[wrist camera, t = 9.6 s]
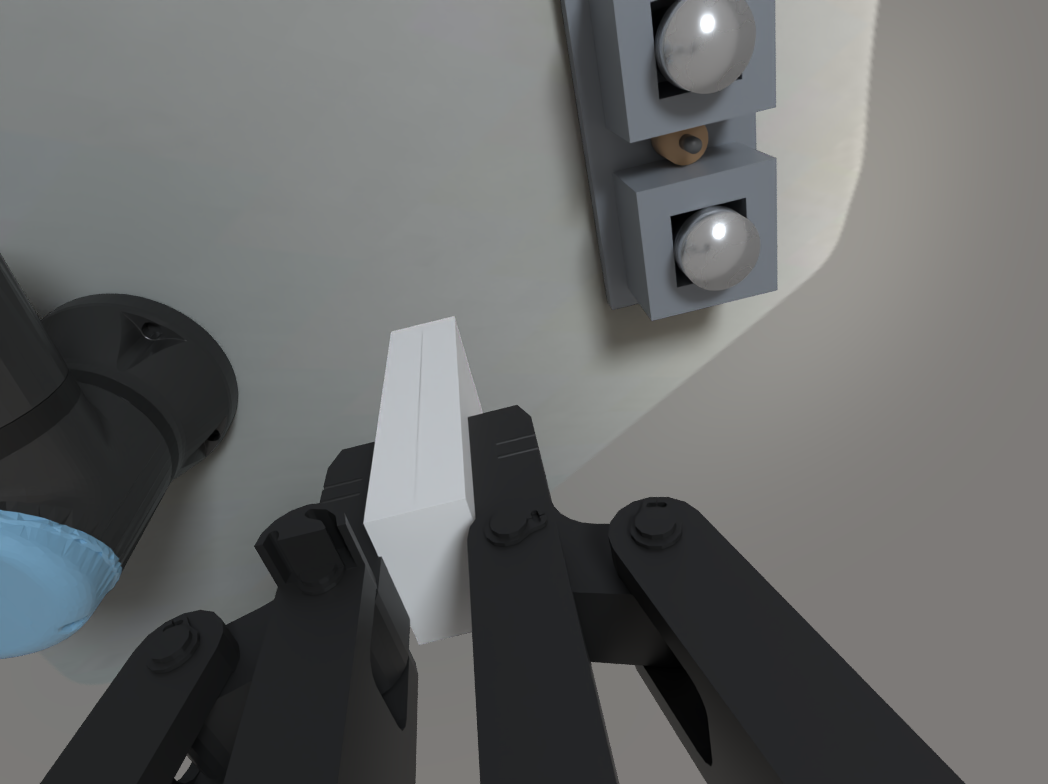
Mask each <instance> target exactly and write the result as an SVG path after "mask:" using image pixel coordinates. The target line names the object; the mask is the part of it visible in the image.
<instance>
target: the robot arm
mask: <svg viewBox="0 0 1048 784" xmlns="http://www.w3.org/2000/svg"><path fill="white" fill-rule="evenodd" d="M237 402H238V389H237V382H236V378H235V374H234V371H233V369H232V366H231V364H230V362H229V360H228V358H227V356H226V355H225V353H224V352H223V350H222V349H221V347H220V346H219V345H218V343H217V342H216V341H215V340H214V339H213V338H212V336H211V335H210V334H209V333H208V332H207V331H205V330H204V329H203V328H202V327H201V326H200V325H198V324H197V323H196V322H194V321H193V320H192V319H190V318H189V317H187V316H186V315H184V314H182V313H181V312H179V311H177V310H175V309H173V308H171V307H169V306H166V305H164V304H162V303H159V302H156V301H153V300H150V299H146V298H143V297H138V296H133V295H126V294H97V295H90V296H85V297H81V298H78V299H75V300H72V301H70V302H67V303H65V304H63V305H62V306H60V307H58V308H57V309H55V310H54V311H52V312H51V313H50V314H48V315H47V316H46V317H45V318H43V319H42V320H40V319H39V317H38V315H37V314H36V312H35V310H34V309H33V307H32V305H31V304H30V302H29V300H28V299H27V297H26V295H25V294H24V292H23V290H22V289H21V287H20V285H19V284H18V282H17V280H16V279H15V277H14V275H13V273H12V272H11V270H10V268H9V267H8V265H7V263H6V262H5V260H4V258H3V257H2V255H1V253H0V659H4V658H12V657H18V656H23V655H27V654H31V653H35V652H38V651H41V650H44V649H46V648H49V647H51V646H54V645H56V644H58V643H59V642H61V641H63V640H65V639H67V638H68V637H70V636H71V635H73V634H74V633H75V632H77V631H78V630H79V629H80V628H81V627H82V626H83V625H84V624H85V623H86V622H87V621H88V619H89V618H90V617H91V615H92V614H93V613H94V611H95V610H96V608H97V607H98V605H99V604H100V602H101V601H102V599H103V598H104V596H105V595H106V593H108V592H109V591H110V590H111V589H112V588H113V587H114V586H115V584H116V582H117V581H118V580H119V578H120V575H121V573H122V571H123V569H124V567H125V565H126V563H127V561H128V560H129V558H130V556H131V554H132V552H133V550H134V549H135V547H136V545H137V543H138V541H139V539H140V537H141V536H142V534H143V532H144V530H145V528H146V526H147V525H148V523H149V521H150V519H151V517H152V515H153V514H154V512H155V510H156V508H157V506H158V504H159V503H160V501H161V499H162V497H163V495H164V493H165V491H166V490H167V488H168V486H169V484H170V483H171V481H172V480H174V479H175V478H177V477H178V476H180V475H181V474H183V473H184V472H186V471H187V470H188V469H190V468H191V467H193V466H194V465H196V464H197V463H199V462H200V461H202V460H203V459H204V458H206V457H207V456H208V455H209V454H210V453H211V452H212V451H213V450H214V449H215V448H216V447H217V446H218V445H219V443H220V442H221V441H222V439H223V437H224V436H225V434H226V432H227V430H228V428H229V426H230V424H231V422H232V420H233V418H234V415H235V412H236V408H237ZM254 547H255V549H256V550H257V552H258V554H259V555H260V557H261V559H262V561H263V562H264V564H265V566H266V567H267V569H268V571H269V572H270V574H271V576H272V577H273V579H274V581H275V582H276V584H277V586H278V588H277V592H276V595H275V599H274V600H273V601H271V602H269V603H268V604H266V605H264V606H263V607H261V608H259V609H257V610H255V611H253V612H251V613H249V614H247V615H245V616H243V617H241V618H239V619H237V620H235V621H233V622H231V623H229V624H227V625H225V624H224V622H223V621H222V619H221V618H220V617H219V616H217V615H216V614H215V613H214V612H211V611H204V610H198V611H193V612H189V613H184V614H182V615H180V616H178V617H176V618H173V619H171V620H169V621H167V622H165V623H164V624H163V625H161V626H160V627H159V628H157V629H156V630H155V631H153V632H152V633H151V634H149V635H148V636H147V637H146V638H145V639H144V641H143V642H142V643H141V644H140V645H139V646H138V647H137V648H136V649H135V651H134V652H133V653H132V655H131V656H130V658H129V659H128V660H127V662H126V663H125V665H124V666H123V667H122V669H121V670H120V672H119V673H118V674H117V676H116V677H115V679H114V680H113V681H112V683H111V684H110V686H109V687H108V689H107V690H106V692H105V693H104V694H103V696H102V697H101V698H100V700H99V701H98V703H97V704H96V705H95V707H94V708H93V710H92V711H91V713H90V714H89V715H88V717H87V718H86V720H85V721H84V722H83V724H82V725H81V727H80V728H79V729H78V731H77V732H76V734H75V735H74V737H73V738H72V740H71V741H70V742H69V744H68V745H67V746H66V748H65V749H64V751H63V752H62V753H61V755H60V756H59V758H58V759H57V760H56V762H55V764H54V765H53V766H52V767H51V769H50V770H49V772H48V773H47V774H46V776H45V777H44V779H43V780H42V782H41V783H40V784H415V776H416V738H417V737H416V736H417V698H418V672H417V668H416V663H415V661H414V659H413V657H412V654H411V652H410V650H409V633H410V626H411V628H412V631H413V633H414V635H415V637H416V639H417V641H418V644H419V645H421V644H425V643H429V642H434V641H438V640H442V639H446V638H450V637H454V636H458V635H462V634H466V633H471V632H472V639H473V657H474V674H475V693H476V711H477V730H478V748H479V767H480V784H619V781H618V776H617V772H616V768H615V764H614V760H613V755H612V751H611V747H610V743H609V738H608V734H607V730H606V726H605V722H604V718H603V713H602V709H601V705H600V700H599V696H598V692H597V688H596V683H595V679H594V675H593V671H592V667H591V662H601V663H614V664H629V665H635V666H636V669H637V671H638V673H639V674H640V676H641V677H642V679H643V681H644V682H645V684H646V685H647V687H648V689H649V690H650V692H651V694H652V695H653V697H654V698H655V700H656V702H657V703H658V705H659V706H660V708H661V710H662V711H663V713H664V715H665V716H666V718H667V719H668V721H669V723H670V724H671V726H672V727H673V729H674V731H675V732H676V734H677V736H678V737H679V739H680V740H681V742H682V744H683V745H684V747H685V748H686V750H687V752H688V753H689V755H690V756H691V758H692V760H693V761H694V763H695V764H696V766H697V768H698V769H699V771H700V773H701V774H702V776H703V777H704V779H705V781H706V782H707V784H965V783H964V782H963V781H962V780H961V779H960V778H959V777H958V776H957V775H956V774H955V773H954V772H953V771H952V769H950V767H948V765H946V763H945V762H944V761H942V759H941V758H940V757H939V756H938V755H937V754H936V753H935V752H934V751H933V750H932V749H931V748H930V747H929V746H928V745H927V744H926V743H925V742H924V741H923V740H922V739H921V738H920V737H919V736H918V735H917V734H916V733H915V732H914V731H913V730H912V729H911V728H910V727H909V726H908V725H907V724H906V723H905V722H904V721H903V719H902V718H901V717H900V716H899V715H898V714H897V713H896V712H894V710H893V709H892V708H891V707H890V706H889V705H888V704H887V703H886V702H885V701H884V700H883V699H882V698H881V697H880V696H879V695H878V694H877V693H876V692H875V691H874V690H873V689H872V688H871V687H870V686H869V685H868V684H867V683H866V682H865V681H864V680H863V679H862V678H861V677H860V676H859V675H858V674H857V672H856V671H855V670H854V669H852V667H851V666H850V665H849V664H848V663H847V662H846V661H845V660H844V659H843V658H842V657H841V656H840V655H839V654H838V653H837V652H836V651H835V650H834V649H833V648H832V647H831V646H830V645H829V644H828V643H827V642H826V641H825V640H824V639H823V638H822V637H821V636H820V635H819V634H818V633H817V632H816V631H815V630H814V629H813V628H812V627H811V626H810V624H809V623H808V622H807V621H806V620H805V619H804V618H803V617H802V616H801V615H800V614H799V613H798V612H797V611H796V610H795V609H794V608H793V607H792V606H791V605H790V604H789V603H788V602H787V601H786V600H785V599H784V598H783V597H782V596H781V595H780V594H779V593H778V592H777V591H776V590H775V589H774V588H773V587H772V586H771V585H770V584H769V583H768V582H767V581H766V580H765V579H764V577H763V576H761V574H760V573H759V572H758V571H757V570H756V569H755V568H754V567H753V566H752V565H751V564H750V563H749V562H748V561H747V560H746V559H745V558H744V557H743V556H742V555H741V554H740V553H739V552H738V551H737V550H736V549H735V548H734V547H733V546H732V545H731V544H730V543H729V542H728V541H727V540H726V539H725V538H724V537H723V536H722V535H721V534H720V533H719V532H718V531H717V529H716V528H715V527H713V525H712V524H711V523H710V522H709V521H708V520H707V519H706V518H705V517H704V516H703V515H702V514H701V513H700V512H699V511H698V510H696V509H695V508H693V507H692V506H690V505H689V504H688V503H686V502H684V501H680V500H677V499H673V498H670V497H649V498H645V499H642V500H638V501H634V502H632V503H630V504H629V505H627V506H626V507H624V508H622V509H621V510H619V511H618V513H617V514H616V515H615V517H614V518H613V519H612V521H611V522H610V524H591V523H581V522H578V521H575V520H572V519H569V518H568V517H566V516H564V515H562V514H560V512H559V511H558V510H557V509H556V508H555V507H554V505H553V503H552V501H551V496H550V492H549V488H548V483H547V479H546V475H545V471H544V467H543V463H542V459H541V455H540V451H539V447H538V443H537V439H536V435H535V431H534V427H533V423H532V419H531V416H530V415H529V414H527V413H526V412H525V411H524V410H523V409H521V408H520V407H519V406H518V405H515V406H511V407H507V408H503V409H499V410H495V411H490V412H486V413H483V411H482V408H481V405H480V401H479V398H478V394H477V391H476V388H475V384H474V381H473V377H472V374H471V371H470V367H469V364H468V360H467V357H466V354H465V350H464V347H463V343H462V340H461V337H460V333H459V330H458V326H457V323H456V320H455V316H453V317H449V318H444V319H440V320H436V321H432V322H428V323H424V324H420V325H416V326H412V327H408V328H404V329H400V330H396V331H392V332H391V337H390V344H389V351H388V357H387V364H386V371H385V378H384V385H383V392H382V399H381V405H380V412H379V419H378V426H377V433H376V440H375V442H372V443H368V444H364V445H360V446H356V447H352V448H348V449H343V450H342V451H341V452H340V453H339V455H338V456H337V457H336V458H335V460H334V461H333V462H332V464H331V465H330V466H329V468H328V470H327V474H326V479H325V483H324V490H323V491H322V495H321V499H320V503H318V504H309V505H306V506H303V507H300V508H297V509H295V510H292V511H290V512H288V513H287V514H285V515H283V516H282V517H280V518H278V519H277V520H275V521H274V522H273V523H272V524H271V525H270V526H269V527H268V528H267V529H266V530H265V531H264V532H263V533H262V534H261V535H260V537H259V539H258V541H257V542H256V544H255V546H254ZM186 755H187V756H188V758H189V759H190V760H191V761H192V763H191V765H190V767H189V769H188V770H187V771H186V773H185V774H184V775H183V776H182V778H181V779H180V780H178V781H176V780H175V779H174V777H175V775H176V773H177V772H178V770H179V768H180V766H181V764H182V763H183V761H184V759H185V757H186Z"/></svg>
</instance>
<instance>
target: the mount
mask: <svg viewBox="0 0 1048 784" xmlns="http://www.w3.org/2000/svg"><path fill="white" fill-rule="evenodd" d="M560 1H561V8H562V14H563V21H564V27H565V33H566V40H567V46H568V53H569V59H570V65H571V72H572V78H573V85H574V91H575V97H576V104H577V110H578V117H579V123H580V129H581V136H582V142H583V149H584V155H585V161H586V168H587V174H588V181H589V187H590V193H591V200H592V206H593V212H594V219H595V225H596V232H597V238H598V244H599V251H600V257H601V264H602V270H603V276H604V283H605V289H606V296H607V302H608V304H609V306H610V307H611V309H612V310H614V309H618V308H622V307H626V306H630V305H634V304H638V303H639V304H640V305H641V307H642V308H643V310H644V311H645V312H646V314H647V315H648V317H649V318H650V319H651V321H653V320H657V319H662V318H666V317H670V316H674V315H678V314H682V313H686V312H690V311H694V310H698V309H702V308H706V307H710V306H715V305H719V304H723V303H727V302H731V301H735V300H739V299H743V298H747V297H751V296H755V295H759V294H763V293H768V292H772V291H776V290H777V175H776V158H775V157H772V156H770V155H767V154H765V153H763V152H760V151H758V150H756V112H758V111H762V110H766V109H770V108H775V107H776V48H775V0H745V2H746V3H747V4H748V6H749V7H750V9H751V11H752V14H753V17H754V20H755V26H756V40H755V46H754V50H753V54H752V56H751V59H750V61H749V63H748V65H747V67H746V68H745V70H744V71H743V73H742V74H741V75H740V76H739V77H738V78H737V79H736V80H735V81H734V82H733V83H732V84H730V85H729V86H727V87H726V88H724V89H722V90H720V91H717V92H714V93H709V94H699V93H694V92H691V91H687V90H683V89H680V88H678V87H675V86H674V85H672V84H671V83H670V82H668V81H667V80H666V79H665V77H664V76H663V75H662V73H661V71H660V70H656V60H655V49H654V39H653V28H652V17H651V13H653V12H654V11H656V10H658V9H660V8H663V7H670V6H671V5H672V4H673V3H674V2H675V1H676V0H560ZM710 206H724V207H728V208H730V209H732V210H734V211H736V212H737V213H739V214H740V215H742V216H744V217H745V218H747V219H748V220H749V221H751V222H752V223H753V224H754V226H755V227H756V229H757V231H758V233H759V237H760V244H761V245H760V254H759V257H758V260H757V262H756V264H755V266H754V268H753V269H752V271H751V272H750V273H749V274H748V276H747V277H746V278H744V279H743V280H742V281H741V282H739V283H738V284H736V285H734V286H732V287H730V288H727V289H724V290H718V291H711V290H706V289H703V288H700V287H698V286H697V285H695V284H694V283H693V282H692V281H691V280H690V279H689V278H688V277H687V276H686V275H685V274H684V273H683V272H682V271H681V270H680V268H679V267H678V265H677V263H676V261H675V257H674V248H673V240H672V229H671V219H670V216H673V215H677V214H681V213H685V212H689V211H693V210H697V209H701V208H705V207H710Z"/></svg>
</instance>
